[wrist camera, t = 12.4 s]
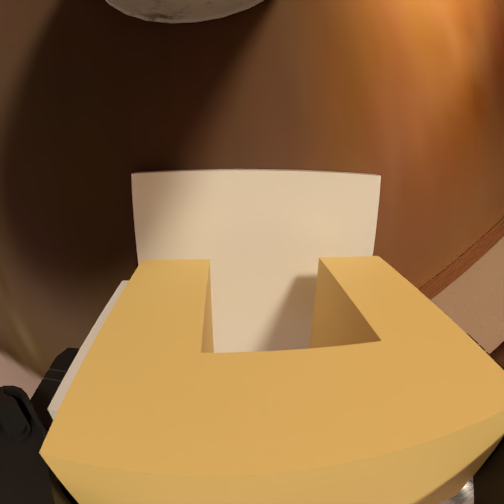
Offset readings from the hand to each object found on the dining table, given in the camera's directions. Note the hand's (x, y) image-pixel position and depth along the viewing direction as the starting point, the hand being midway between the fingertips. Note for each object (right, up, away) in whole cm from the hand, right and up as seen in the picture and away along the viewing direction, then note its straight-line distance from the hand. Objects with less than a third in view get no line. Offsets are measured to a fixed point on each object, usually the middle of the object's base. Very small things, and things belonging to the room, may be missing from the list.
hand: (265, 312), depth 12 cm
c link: (0, 0, 0) cm, 0 cm away
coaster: (0, +1, +2) cm, 2 cm away
